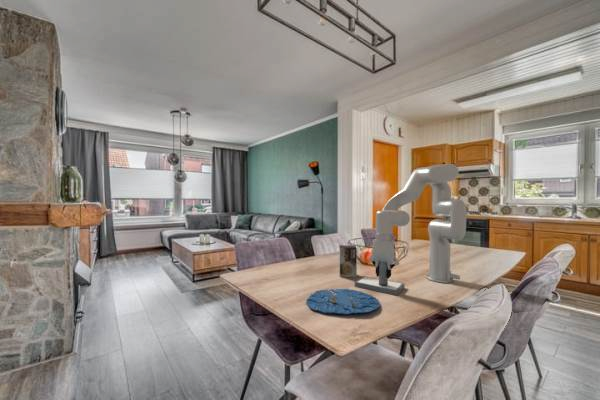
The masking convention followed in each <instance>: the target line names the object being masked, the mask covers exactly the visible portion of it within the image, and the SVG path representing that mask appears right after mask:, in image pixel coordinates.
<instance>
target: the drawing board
mask: <svg viewBox="0 0 600 400" xmlns="http://www.w3.org/2000/svg"><path fill="white" fill-rule="evenodd" d="M354 287H355V288H360V289H365V290H369V291H374V292H375V291H376V292H379V293H383V294H389V295H393V296H399V295H400V294H401V293H402V292H403V291H404V289H405V283H402V282H398V281H397V282H396V281H393V280H392V281H391V280H388V286H381V285H379V278H377V277H376V278H375V277H372V276H371V277H370V276H365V275H364V276H362V277H361V278H359V279H358V280H356V281H354Z"/></svg>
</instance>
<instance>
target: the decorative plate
mask: <svg viewBox="0 0 600 400" xmlns="http://www.w3.org/2000/svg"><path fill="white" fill-rule="evenodd" d="M305 303H306V304H307V306H308V308H309V309H310V310H312V311H313V310H314V311H318V312H322V313H325V314H326V313H328V314H332V313H334V314H339V315H345V316H346V315H350V314H353V313H354V314H357V313H370V312H372V311H374V310H376V309H379V307H380V306H381V303H380V300H379V299H378V298H376V296H373V295H372V294H368V293H365V292H363V291H360V290H354V289H350V288H331V289H320V290H315V291H314V293H311V294H310V295H309V297H307V299H306V301H305Z"/></svg>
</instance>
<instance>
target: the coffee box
mask: <svg viewBox="0 0 600 400" xmlns="http://www.w3.org/2000/svg"><path fill="white" fill-rule="evenodd" d="M357 249H358V248H357V246H356V245H352V244H351V245H345V244H344V245H343V244H342V245H341V244H340V245H339V249H338V250H339V251H338V258H339V259H338V260H339V261H338V264H339V267H338V268H339V269H338V271H339V274H338V275H339V277H340V278H357V265H358V264H357V262H358V261H357V256H358V255H357V252H358V251H357Z"/></svg>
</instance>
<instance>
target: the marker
mask: <svg viewBox="0 0 600 400" xmlns="http://www.w3.org/2000/svg"><path fill="white" fill-rule="evenodd" d="M387 269H388V266H387V263H385V262H383V261H382V262H379V276H378V279H379V285H381V286H388V281H389V278H387Z"/></svg>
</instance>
